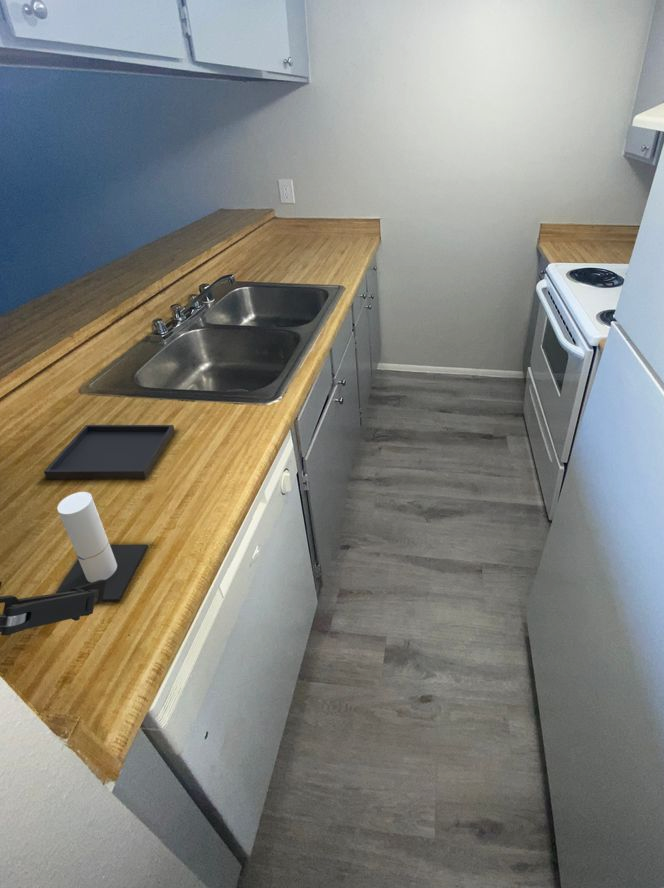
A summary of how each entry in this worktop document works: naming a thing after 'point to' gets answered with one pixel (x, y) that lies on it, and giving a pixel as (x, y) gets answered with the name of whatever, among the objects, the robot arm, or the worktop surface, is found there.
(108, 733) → the worktop surface
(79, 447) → the tray
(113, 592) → the mat
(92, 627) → the worktop surface
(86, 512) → the tube
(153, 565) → the worktop surface
